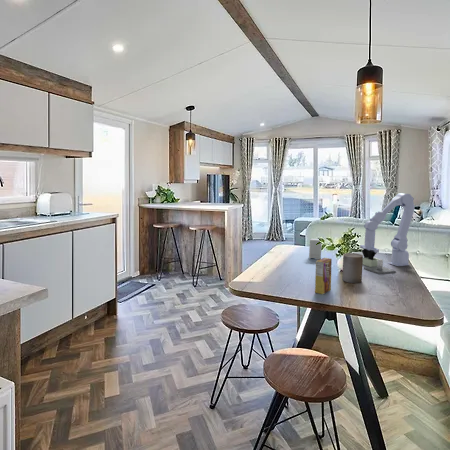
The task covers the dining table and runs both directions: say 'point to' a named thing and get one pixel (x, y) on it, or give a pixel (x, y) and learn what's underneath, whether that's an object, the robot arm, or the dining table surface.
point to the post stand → (380, 268)
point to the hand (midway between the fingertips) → (368, 261)
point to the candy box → (323, 275)
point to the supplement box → (315, 249)
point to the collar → (370, 262)
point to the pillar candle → (352, 267)
